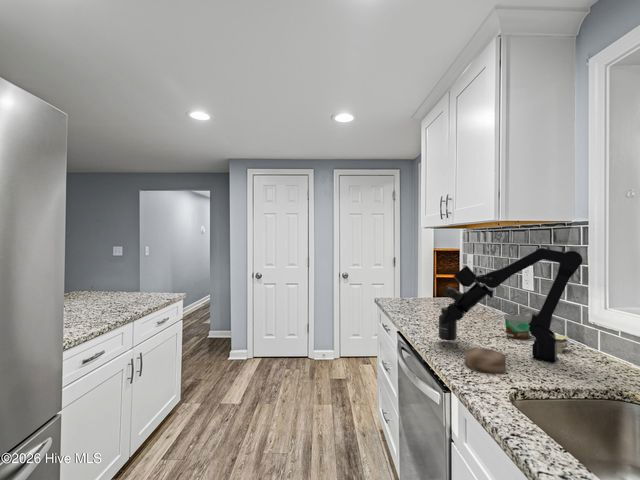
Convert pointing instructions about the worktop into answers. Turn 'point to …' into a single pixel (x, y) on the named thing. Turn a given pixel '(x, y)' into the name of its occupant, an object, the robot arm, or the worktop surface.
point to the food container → (517, 325)
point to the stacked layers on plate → (561, 343)
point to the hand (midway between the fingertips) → (443, 321)
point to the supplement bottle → (447, 327)
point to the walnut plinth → (485, 360)
